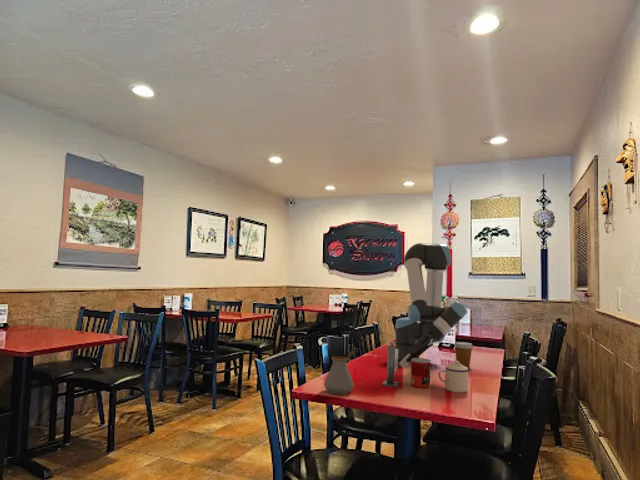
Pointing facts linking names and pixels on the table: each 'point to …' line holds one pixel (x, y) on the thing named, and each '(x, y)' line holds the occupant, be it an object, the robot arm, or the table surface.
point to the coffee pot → (339, 376)
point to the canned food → (420, 373)
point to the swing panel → (395, 356)
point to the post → (390, 368)
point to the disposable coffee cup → (463, 353)
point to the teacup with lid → (456, 377)
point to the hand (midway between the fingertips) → (401, 366)
